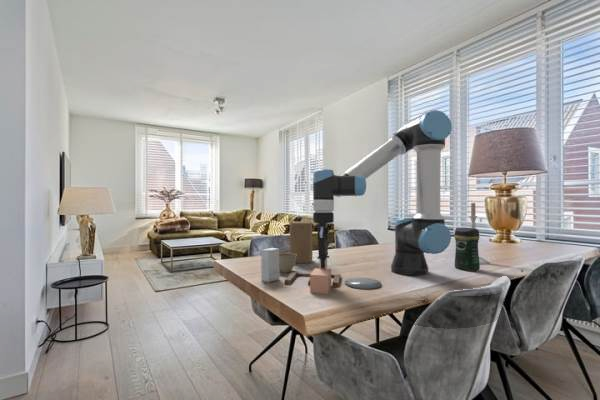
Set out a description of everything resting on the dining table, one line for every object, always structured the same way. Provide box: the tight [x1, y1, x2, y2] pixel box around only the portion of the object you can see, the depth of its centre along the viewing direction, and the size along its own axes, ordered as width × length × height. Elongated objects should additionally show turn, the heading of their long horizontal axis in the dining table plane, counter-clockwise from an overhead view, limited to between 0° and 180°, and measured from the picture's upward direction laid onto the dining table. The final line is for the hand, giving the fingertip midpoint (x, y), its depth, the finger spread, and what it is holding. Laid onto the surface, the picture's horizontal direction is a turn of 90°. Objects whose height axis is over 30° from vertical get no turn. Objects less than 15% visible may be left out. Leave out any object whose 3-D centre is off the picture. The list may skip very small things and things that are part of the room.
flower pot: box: [279, 252, 297, 273], centre depth 132 cm, size 10×10×7 cm
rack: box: [284, 271, 342, 288], centre depth 116 cm, size 20×14×2 cm
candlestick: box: [469, 202, 489, 265], centre depth 152 cm, size 13×13×30 cm
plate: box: [344, 277, 382, 290], centre depth 111 cm, size 13×13×1 cm
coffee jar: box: [454, 227, 481, 272], centre depth 136 cm, size 10×8×19 cm
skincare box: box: [260, 247, 280, 283], centre depth 117 cm, size 6×4×12 cm
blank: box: [309, 267, 332, 295], centre depth 105 cm, size 6×10×6 cm, turn 168°
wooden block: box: [289, 220, 313, 264], centre depth 152 cm, size 10×10×20 cm
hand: (323, 276), depth 111 cm, fingers closed
